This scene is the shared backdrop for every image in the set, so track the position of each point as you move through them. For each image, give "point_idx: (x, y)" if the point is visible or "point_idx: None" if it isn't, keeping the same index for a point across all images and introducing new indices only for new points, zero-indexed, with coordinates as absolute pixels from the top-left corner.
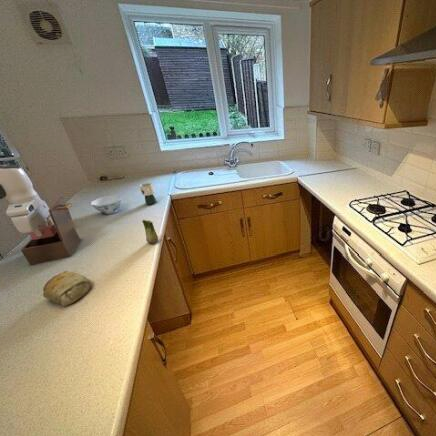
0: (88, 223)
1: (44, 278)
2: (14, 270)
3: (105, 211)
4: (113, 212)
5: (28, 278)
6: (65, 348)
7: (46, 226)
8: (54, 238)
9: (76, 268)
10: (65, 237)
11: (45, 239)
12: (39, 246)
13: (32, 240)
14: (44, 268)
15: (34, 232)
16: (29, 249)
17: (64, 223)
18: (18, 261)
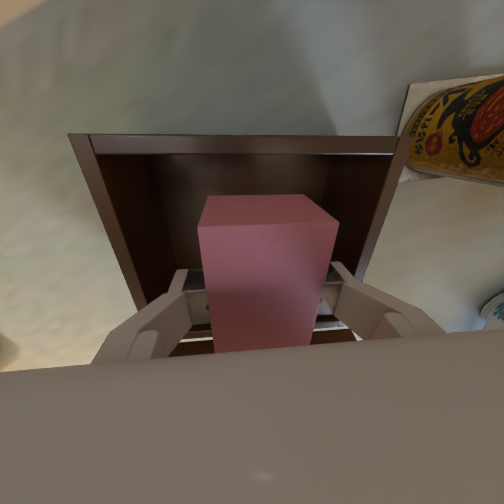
0: (462, 258)
1: (13, 245)
2: (93, 50)
3: (497, 316)
4: (482, 315)
5: (8, 178)
6: None
7: (294, 325)
8: (336, 208)
9: (81, 317)
10: (203, 337)
11: (348, 166)
12: (116, 255)
13: (262, 153)
14: (94, 216)
15: (154, 303)
16: (97, 193)
17: None
18: (209, 23)
